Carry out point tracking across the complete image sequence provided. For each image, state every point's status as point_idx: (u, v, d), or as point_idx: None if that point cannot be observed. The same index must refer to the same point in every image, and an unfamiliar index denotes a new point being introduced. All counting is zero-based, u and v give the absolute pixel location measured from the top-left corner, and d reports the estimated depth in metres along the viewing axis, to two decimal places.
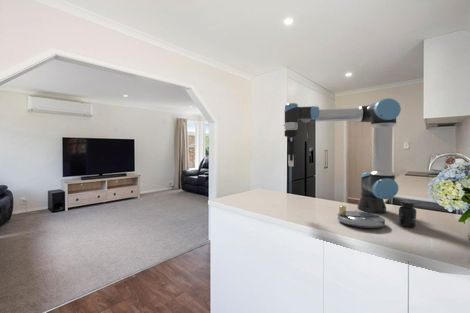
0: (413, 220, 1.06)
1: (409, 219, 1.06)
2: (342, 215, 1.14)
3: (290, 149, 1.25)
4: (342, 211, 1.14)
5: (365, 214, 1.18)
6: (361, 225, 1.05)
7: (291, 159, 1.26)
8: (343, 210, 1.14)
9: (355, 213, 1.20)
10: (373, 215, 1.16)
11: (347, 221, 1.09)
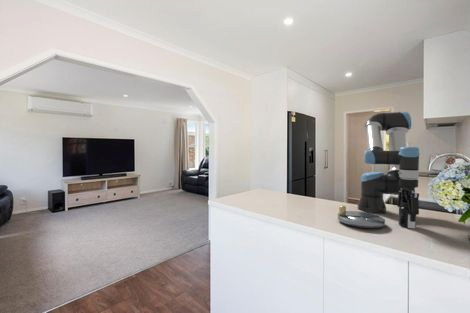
0: None
1: None
2: (342, 215, 1.14)
3: (414, 209, 1.03)
4: (342, 211, 1.14)
5: (365, 214, 1.18)
6: (361, 225, 1.05)
7: (413, 220, 1.04)
8: (343, 210, 1.14)
9: (355, 213, 1.20)
10: (373, 215, 1.16)
11: (347, 221, 1.09)
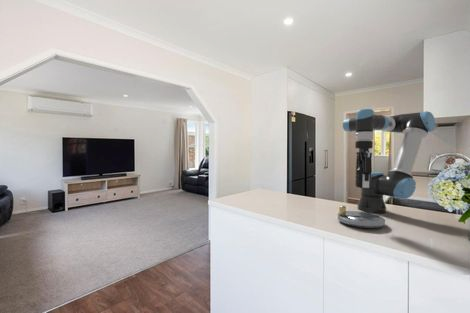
0: None
1: None
2: (342, 215, 1.14)
3: (367, 168, 1.06)
4: (342, 211, 1.14)
5: (365, 214, 1.18)
6: (361, 225, 1.05)
7: (367, 179, 1.08)
8: (343, 210, 1.14)
9: (355, 213, 1.20)
10: (373, 215, 1.16)
11: (347, 221, 1.09)
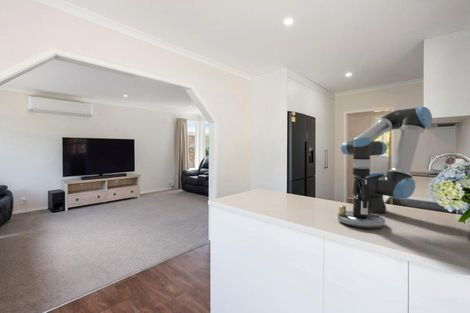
0: None
1: None
2: (342, 215, 1.14)
3: (365, 195, 1.05)
4: (342, 211, 1.14)
5: None
6: (361, 225, 1.05)
7: (365, 206, 1.07)
8: (343, 210, 1.14)
9: None
10: (373, 215, 1.16)
11: (347, 221, 1.09)
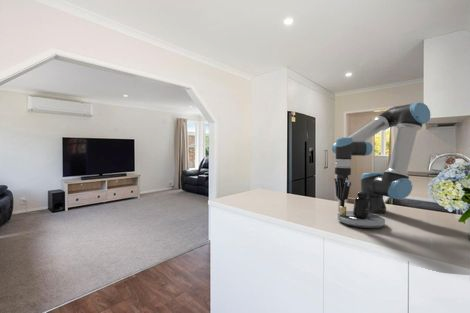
0: (366, 210, 1.10)
1: (362, 209, 1.11)
2: (343, 215, 1.14)
3: (344, 195, 1.13)
4: (343, 211, 1.13)
5: None
6: (363, 225, 1.04)
7: (343, 204, 1.16)
8: (344, 210, 1.13)
9: None
10: (372, 215, 1.17)
11: (349, 222, 1.08)
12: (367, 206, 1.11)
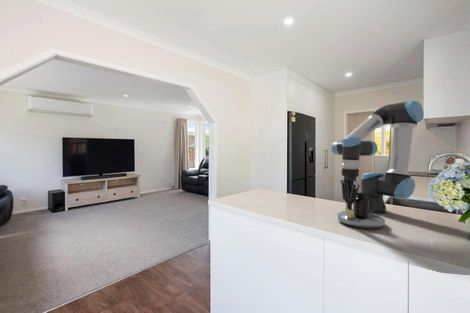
0: (368, 209, 1.12)
1: (366, 208, 1.11)
2: (353, 219, 1.08)
3: (352, 198, 1.07)
4: (353, 215, 1.08)
5: None
6: (378, 225, 1.04)
7: (350, 208, 1.10)
8: (353, 213, 1.08)
9: None
10: None
11: (365, 224, 1.04)
12: (368, 205, 1.12)
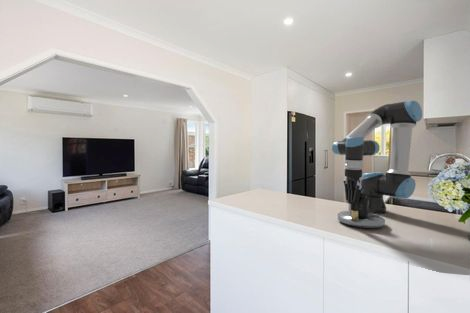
0: None
1: (367, 208, 1.11)
2: (357, 220, 1.07)
3: (355, 199, 1.05)
4: (357, 216, 1.07)
5: None
6: (382, 225, 1.05)
7: (353, 209, 1.08)
8: None
9: (347, 214, 1.18)
10: None
11: (371, 225, 1.04)
12: None
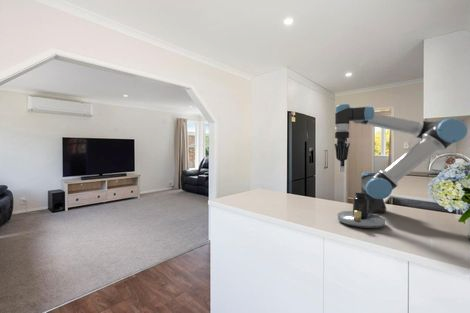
0: None
1: (367, 208, 1.12)
2: (360, 220, 1.06)
3: (344, 156, 1.27)
4: (360, 216, 1.06)
5: (351, 213, 1.20)
6: (383, 224, 1.06)
7: (343, 165, 1.30)
8: None
9: (347, 215, 1.17)
10: None
11: (374, 225, 1.04)
12: None
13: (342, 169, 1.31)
